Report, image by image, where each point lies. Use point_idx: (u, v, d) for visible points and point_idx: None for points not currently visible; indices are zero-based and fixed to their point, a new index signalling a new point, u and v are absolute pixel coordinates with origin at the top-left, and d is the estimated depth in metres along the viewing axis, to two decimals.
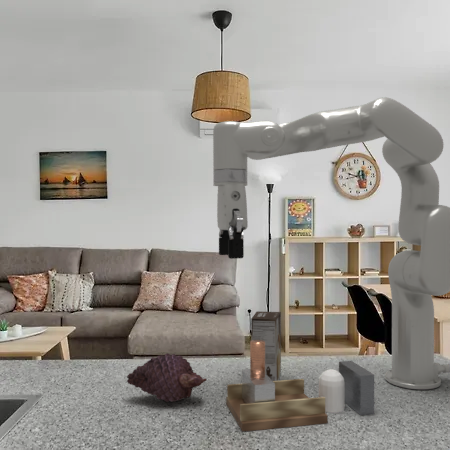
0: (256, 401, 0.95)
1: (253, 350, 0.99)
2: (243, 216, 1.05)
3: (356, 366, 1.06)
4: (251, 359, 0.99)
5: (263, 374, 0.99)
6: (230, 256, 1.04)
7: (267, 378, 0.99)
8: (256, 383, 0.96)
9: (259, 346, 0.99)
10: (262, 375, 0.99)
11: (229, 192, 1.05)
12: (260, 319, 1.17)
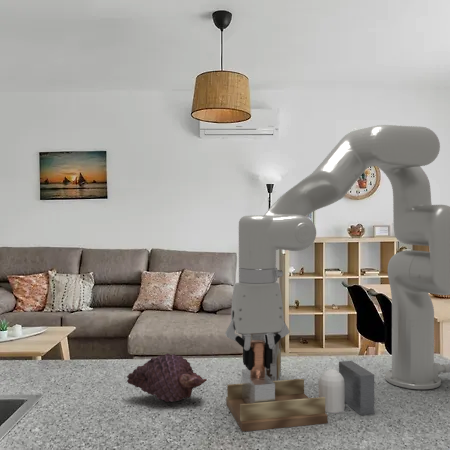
0: (256, 401, 0.95)
1: (253, 350, 0.99)
2: None
3: (356, 366, 1.06)
4: None
5: (263, 374, 0.99)
6: None
7: (267, 378, 0.99)
8: (256, 383, 0.96)
9: (259, 346, 0.99)
10: (262, 375, 0.99)
11: (280, 292, 1.00)
12: None
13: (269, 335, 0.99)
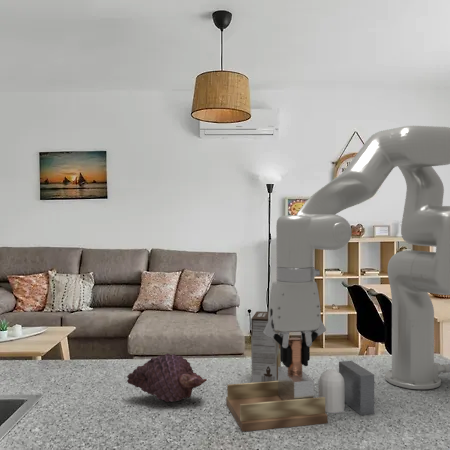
0: (295, 398, 0.97)
1: (291, 348, 1.01)
2: None
3: (356, 366, 1.06)
4: None
5: (301, 371, 1.01)
6: None
7: (305, 375, 1.00)
8: (295, 380, 0.97)
9: (296, 344, 1.00)
10: (300, 372, 1.01)
11: None
12: (260, 319, 1.17)
13: (306, 333, 1.01)
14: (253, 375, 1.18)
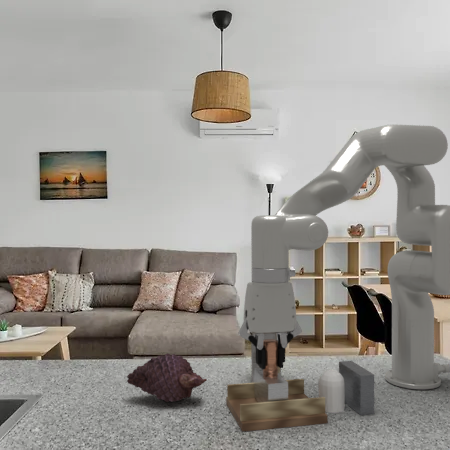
0: (269, 400, 0.95)
1: (266, 349, 0.99)
2: None
3: (356, 366, 1.06)
4: None
5: (276, 373, 1.00)
6: None
7: (280, 377, 0.99)
8: (269, 382, 0.96)
9: (272, 345, 0.99)
10: (275, 374, 1.00)
11: (293, 292, 1.00)
12: None
13: (282, 334, 1.00)
14: (253, 375, 1.18)
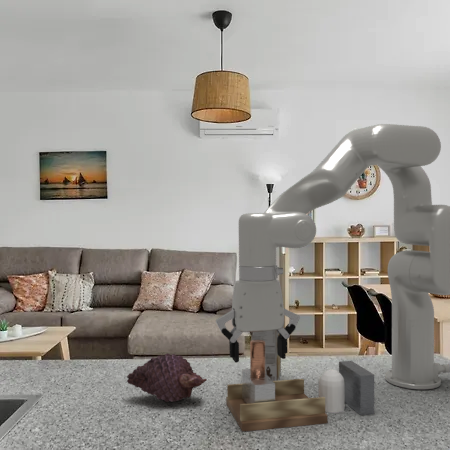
0: (256, 401, 0.95)
1: (253, 350, 0.99)
2: None
3: (356, 366, 1.06)
4: (251, 359, 0.99)
5: (263, 374, 0.99)
6: None
7: (267, 378, 0.99)
8: (256, 383, 0.96)
9: (259, 346, 0.99)
10: (262, 375, 0.99)
11: None
12: None
13: (279, 329, 1.00)
14: None
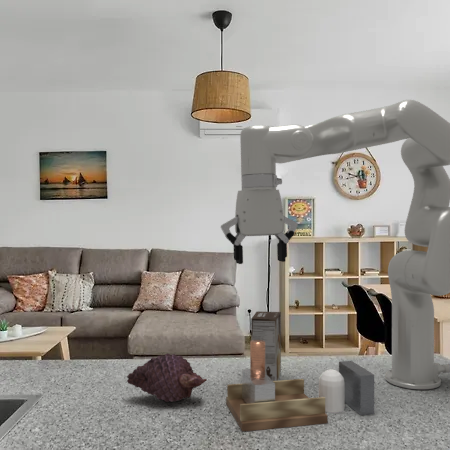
0: (256, 401, 0.95)
1: (253, 350, 0.99)
2: None
3: (356, 366, 1.06)
4: (251, 359, 0.99)
5: (263, 374, 0.99)
6: None
7: (267, 378, 0.99)
8: (256, 383, 0.96)
9: (259, 346, 0.99)
10: (262, 375, 0.99)
11: (280, 197, 1.08)
12: (260, 319, 1.17)
13: (279, 234, 1.08)
14: None
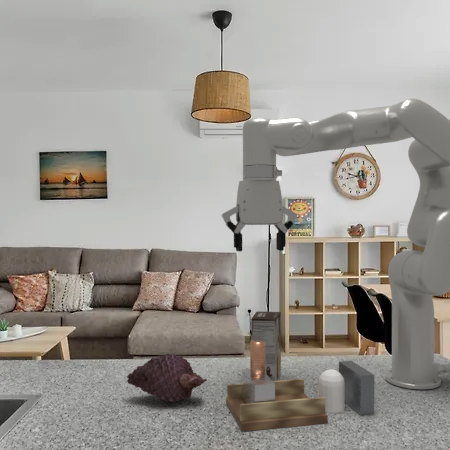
0: (256, 401, 0.95)
1: (253, 350, 0.99)
2: None
3: (356, 366, 1.06)
4: (251, 359, 0.99)
5: (263, 374, 0.99)
6: None
7: (267, 378, 0.99)
8: (256, 383, 0.96)
9: (259, 346, 0.99)
10: (262, 375, 0.99)
11: None
12: (260, 319, 1.17)
13: (278, 223, 1.12)
14: None
